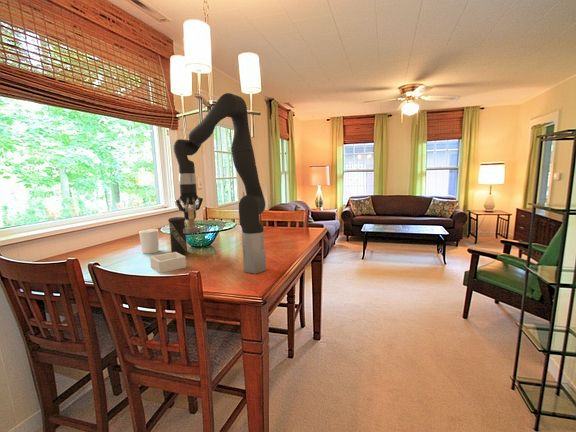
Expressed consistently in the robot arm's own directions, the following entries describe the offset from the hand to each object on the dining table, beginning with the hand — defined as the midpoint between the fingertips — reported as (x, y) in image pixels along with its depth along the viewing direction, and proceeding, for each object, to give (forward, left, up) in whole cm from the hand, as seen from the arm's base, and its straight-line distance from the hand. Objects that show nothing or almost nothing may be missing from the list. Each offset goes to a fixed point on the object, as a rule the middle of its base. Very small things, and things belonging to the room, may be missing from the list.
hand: (190, 219), depth 144 cm
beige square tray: (0, +12, -21) cm, 24 cm away
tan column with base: (-1, 0, -6) cm, 7 cm away
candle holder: (+36, +9, -21) cm, 43 cm away
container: (+20, -1, -21) cm, 29 cm away
